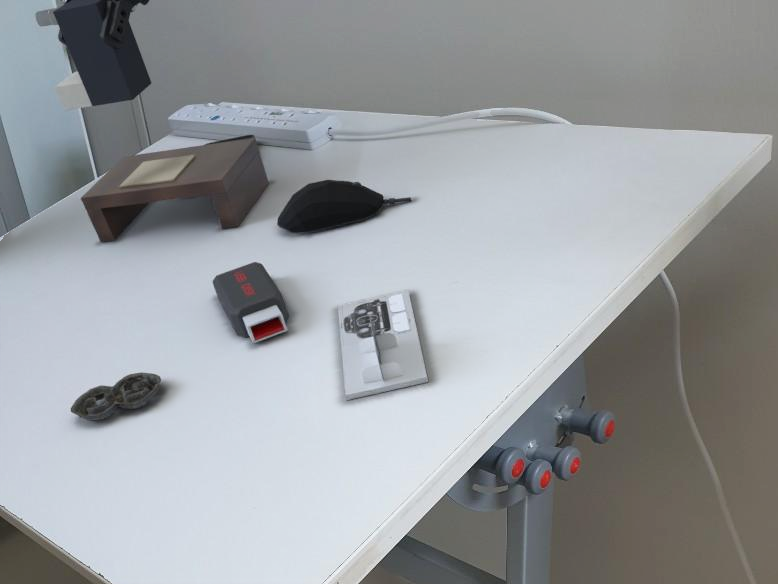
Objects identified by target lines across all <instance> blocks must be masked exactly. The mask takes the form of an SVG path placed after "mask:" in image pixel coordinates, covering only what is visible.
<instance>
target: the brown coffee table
mask: <svg viewBox="0 0 778 584" xmlns="http://www.w3.org/2000/svg"><path fill="white" fill-rule="evenodd" d="M269 184H270V183H269V180H268V176H267V172H266V169H265V166H264V163H263V159H262V156H261V152H260V149H259V146H258V142H257V139H256V137H255V138H250V139H243V140H236V141H229V142H222V143H215V144H208V145H205V144H202V145H201V144H200V145H195V146H188V147H181V148H175V149H167V150H166V149H165V150H160V151H154V152H153V151H151V152H147V153H146V152H145V153H140V154H139V153H138V154H132V155H124V156H122V157H121V158H120V159H119V160H118V161H117V162H116V163H115V164H114V165H113V166H112V167H110V169H109V170H107V172H106V173H105V174H104V175H102V177H101V178H99V180H97V182H95V183H94V184H93V185H92V186H91V187H90V188H89V189H88V190H87V191H86V192H85V193H84V194H83V195H82V196H81V197H80V200H81V202H82V205H83V206H84V209H85V211H86V213H87V215H88V218H89V220H90V222H91V224H92V227H93V228H94V230H95V233H96V235H97V237H98V239H99V243H108V242H109V243H110V242H111V243H112V242H116V241H117V240H118V239H119V238H120V237H121V235H123V233H124V232H125V231H126V230H127V229H128V228H129V227H130V225H131V224H132V223H133V222H134V221H135V220H136V219H137V218H138V217H139V216H140V215H141V214H142V212H143V211H144V210H145V209H146V208H147V207H148V206H149V204H150V203H155V202H164V201H171V200H181V199H187V198H188V199H189V198H195V197H203V196H205V197H206V196H210V199H211V202H212V205H213V207H214V211H215V213H216V216H217V219H218V221H219V224H220V227H221V229H222V230H224V229H234V228H238V227H239V226H240V224H241V223H242V222H243V220H244V219H245V217H246V216H247V215H248V213H249V212H250V210H251V209H252V208H253V206H254V205H255V203H256V202H257V201H258V199H259V198H260V197H261V195H262V193H263V192H264V191H265V189H266V188H267V187H268V186H269Z"/></svg>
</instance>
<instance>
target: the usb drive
mask: <svg viewBox="0 0 778 584" xmlns="http://www.w3.org/2000/svg"><path fill="white" fill-rule="evenodd" d="M212 285H213V288H214V291H215V293H216V296H217V299H218V301H219V303H220V304H221V307H222V309H223V311H224V312H225V315H226V316H227V318H228V321H229V322H230V324H231V326H232V328H233V331H234V332H235V334H236V335H238V336H240V337H243V338H248V337H249V338H250V339H251V341H252V343H253V344H256V343H259V342H261V341H263V340H267V339H269V338H272V337H274V336H277V335H279V334H282V333H285V332H288V327H287V325H286V323H287V321H288V319H289V317H290V314H289V311H288V308H287V306H286V302H285V299H284V296H283V294H282V292H281V291H280V290H279V287H278V286H277V284H276V283H275V282H274V280H273V279H272V277H271V276H270V274H269V273H268V270H267V269H266V267H265V266H264V265H263V264H262V263H261V262H257V261H253V262H251V263H248V264H245V265H242V266H239V267H236V268H234V269H230V270H228V271H225V272H223V273H220V274H217V275H215V277H214V278H213V280H212Z"/></svg>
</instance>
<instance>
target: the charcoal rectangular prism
mask: <svg viewBox="0 0 778 584" xmlns="http://www.w3.org/2000/svg"><path fill="white" fill-rule="evenodd" d="M107 1H113V0H71V1H70V2H68V3H66V4H65V5H64V4H63V5H61V6H60V7H57V9H55V10H54V11H52V13H53V16H54V18H55V21H56V23H57V25H58V28H59V29H60V30H61V33H62V35H63V37H64V40H65V42H66V45H67V46H66V45H65V46H66V47H67V49H68V51H69V54H70V57H71V58H72V61H73V64H74V66H75V68H76V71H74V72H72V73H71V74H70V75H68V76H67V77H66V78H65V79H63V80H62V81H61V82H59V83H58V84H56V85H55V86H54V90H55V93H56V95H57V96H58V99H59V101H60V103H61V105H62V108H63V110H64V111H71V110H78V109H84V108H89V107H96V106H102V105H103V106H104V105H109V104H115V103H122V102H128V101H133V100H135V98H137V97H138V96H139V95H141V93H142V92H144V91H145V90H146V89H147V88H148V87H149V86H151V85H152V80H151V78H150V77H151V76H150V74H149V72H148V69H147V66H146V64H145V61H144V58H143V56H142V53H141V50H140V47H139V45H138V43H137V39H136V37H135V34H134V31H133V29H132V26H131V23H130V20H129V21H128V26H127V30H126V35H125V38H124V41H123V46H122V48H120V49H114V48H112V47H110V46H109V45H107V44H106V43H104V42H103V41H102V40H101V39H100V32H101V28H102V23H103V19H104V14H105V10H106V5H107Z"/></svg>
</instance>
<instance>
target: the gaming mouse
mask: <svg viewBox="0 0 778 584" xmlns="http://www.w3.org/2000/svg"><path fill="white" fill-rule="evenodd" d="M411 201H412V197H410V196H409V197H401V198H395V197H391V198H388V199H387V198H384V195H383V194H381V193H379V192H377V191H375V190H374V189H371V188H369V187H367V186H365V185H362V183H361V182H359V181H354V182H352V181H349V180H337V179H324V180H318V181H314V182H310V183H308V184H306V185H305V186H303V187H301V189H299V190H297V191H296V192H295V193H292V195H291V197H290V198H289V200H288V201H287V203H286V205H285V206H284V208H283V209H282V210H281V212H280V214H279V215H278V217H277V222H276V225H277V226H278V227H279V228H280V229H283V230H285V231H287V232H289V233H294V234H311V233H314V232H319V231H324V230H328V229H331V228H336V227H339V226H344V225H345V226H346V225H349V224H353V223H356V222H361V221H365V220H367V219H369V218H371V217H373V216H376V214H377V213H379V211H380V210H382V208H383V207H384V206H385V205H394V204H396V203H405V202H411Z"/></svg>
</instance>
